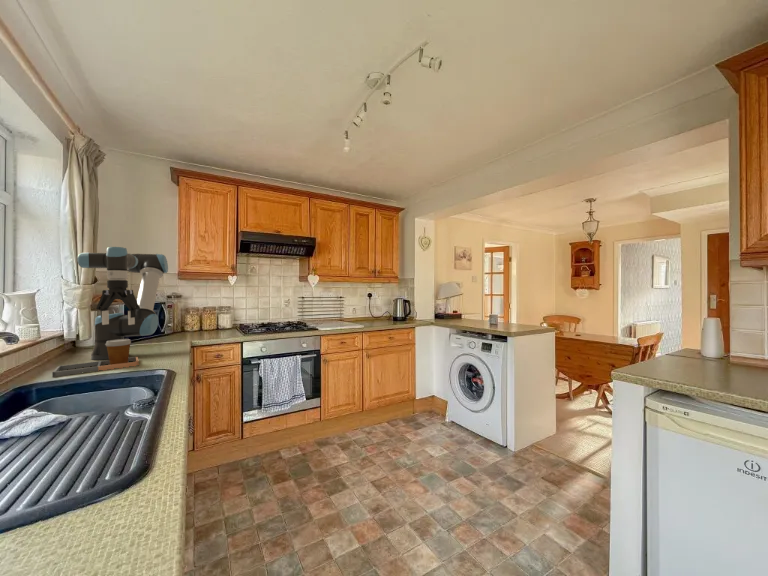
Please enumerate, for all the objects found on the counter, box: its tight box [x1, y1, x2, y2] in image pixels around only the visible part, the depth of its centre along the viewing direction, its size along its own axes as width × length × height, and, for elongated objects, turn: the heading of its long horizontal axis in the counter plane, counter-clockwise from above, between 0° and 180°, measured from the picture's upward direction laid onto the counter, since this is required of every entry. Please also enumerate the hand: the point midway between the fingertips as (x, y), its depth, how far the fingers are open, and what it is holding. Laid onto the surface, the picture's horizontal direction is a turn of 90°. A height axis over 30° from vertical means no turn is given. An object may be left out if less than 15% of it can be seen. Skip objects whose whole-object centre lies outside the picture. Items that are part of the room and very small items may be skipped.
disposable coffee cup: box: [105, 338, 132, 365], centre depth 151 cm, size 10×10×12 cm
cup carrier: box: [52, 356, 140, 378], centre depth 147 cm, size 15×28×2 cm, turn 129°
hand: (118, 324), depth 152 cm, fingers open, 13 cm apart
